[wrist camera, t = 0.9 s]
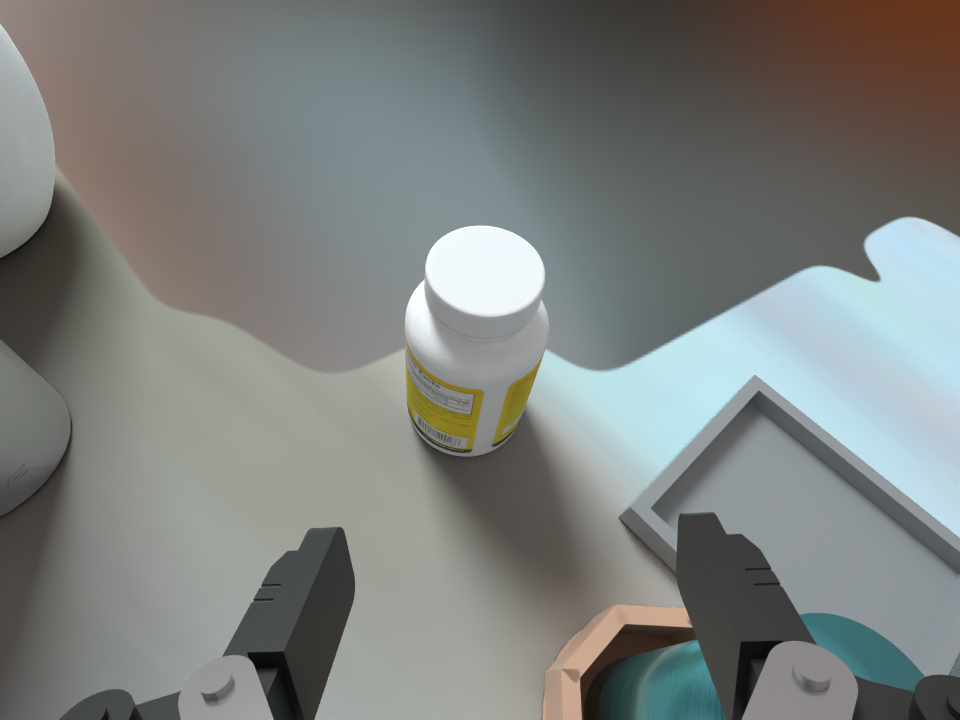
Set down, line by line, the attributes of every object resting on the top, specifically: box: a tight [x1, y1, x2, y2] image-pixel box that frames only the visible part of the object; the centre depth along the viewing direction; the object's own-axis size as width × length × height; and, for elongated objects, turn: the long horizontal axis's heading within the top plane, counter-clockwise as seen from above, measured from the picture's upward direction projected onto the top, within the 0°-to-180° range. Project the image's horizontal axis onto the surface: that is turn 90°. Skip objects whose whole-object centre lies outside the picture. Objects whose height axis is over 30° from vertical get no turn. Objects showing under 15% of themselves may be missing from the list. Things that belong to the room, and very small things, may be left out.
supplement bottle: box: [405, 226, 549, 457], centre depth 30 cm, size 7×7×13 cm
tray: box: [619, 375, 960, 677], centre depth 32 cm, size 16×13×2 cm
